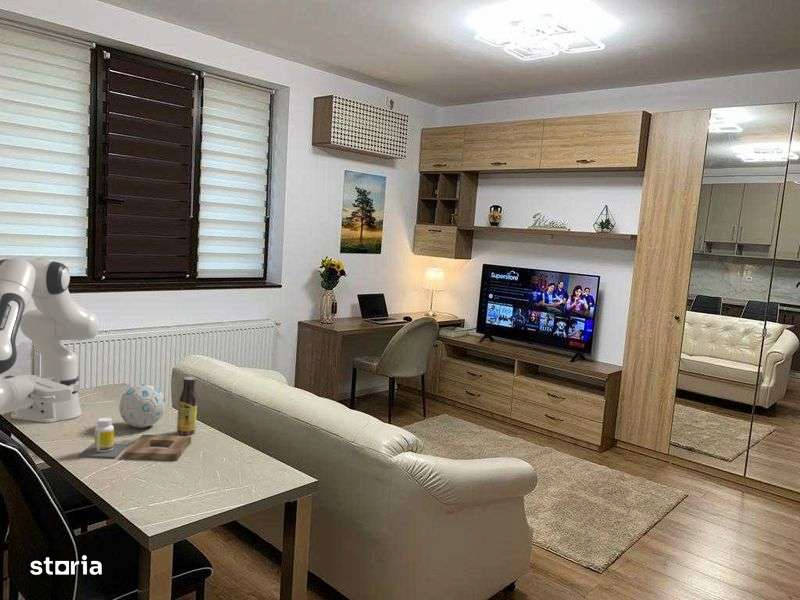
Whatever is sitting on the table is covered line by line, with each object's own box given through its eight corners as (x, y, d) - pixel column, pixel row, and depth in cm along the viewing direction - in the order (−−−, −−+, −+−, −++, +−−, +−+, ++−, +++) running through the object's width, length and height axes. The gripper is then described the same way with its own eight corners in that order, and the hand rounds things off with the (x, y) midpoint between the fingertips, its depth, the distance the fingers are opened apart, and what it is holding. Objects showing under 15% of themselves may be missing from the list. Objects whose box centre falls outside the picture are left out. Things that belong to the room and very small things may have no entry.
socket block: (124, 458, 189) (124, 452, 188) (142, 440, 204) (142, 434, 204) (177, 460, 190) (177, 454, 190) (191, 442, 206) (191, 436, 205)
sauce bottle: (172, 433, 213) (174, 377, 211) (186, 428, 218) (188, 374, 216) (186, 437, 210) (188, 381, 208) (200, 432, 215) (202, 377, 213)
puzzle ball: (160, 417, 228) (161, 378, 227) (168, 430, 216) (169, 389, 214) (116, 422, 220) (116, 381, 219) (121, 435, 208) (122, 392, 206)
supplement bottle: (117, 448, 195) (118, 418, 194) (104, 453, 190) (105, 423, 188) (103, 445, 196) (103, 415, 195) (90, 450, 191) (90, 420, 190)
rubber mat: (78, 457, 187) (78, 455, 187) (93, 444, 198) (93, 442, 198) (115, 458, 188) (115, 456, 188) (128, 445, 199) (128, 444, 199)
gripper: (41, 389, 162) (90, 379, 174) (-1, 374, 172) (48, 366, 184) (41, 411, 163) (89, 400, 175) (-1, 396, 173) (48, 387, 185)
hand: (68, 383), depth 180 cm, fingers open, 8 cm apart
